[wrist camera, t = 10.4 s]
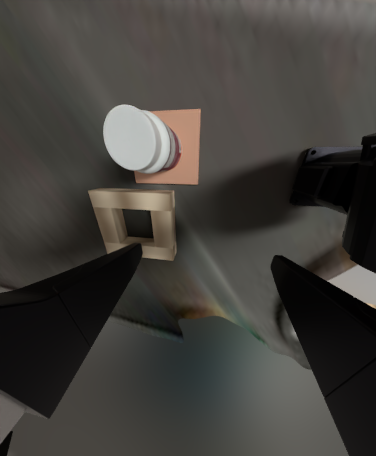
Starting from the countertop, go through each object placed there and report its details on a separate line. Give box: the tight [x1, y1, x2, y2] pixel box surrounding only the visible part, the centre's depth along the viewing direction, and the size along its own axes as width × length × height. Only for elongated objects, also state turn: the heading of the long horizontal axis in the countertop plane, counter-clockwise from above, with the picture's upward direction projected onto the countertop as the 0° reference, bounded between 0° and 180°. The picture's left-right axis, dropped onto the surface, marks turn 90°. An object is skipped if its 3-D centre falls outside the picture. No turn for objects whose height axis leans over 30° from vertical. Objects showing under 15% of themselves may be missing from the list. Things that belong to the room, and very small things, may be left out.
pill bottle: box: [103, 105, 182, 174], centre depth 13 cm, size 5×5×8 cm
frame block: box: [88, 188, 177, 261], centre depth 22 cm, size 12×11×2 cm
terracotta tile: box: [134, 109, 201, 185], centre depth 17 cm, size 9×8×1 cm
